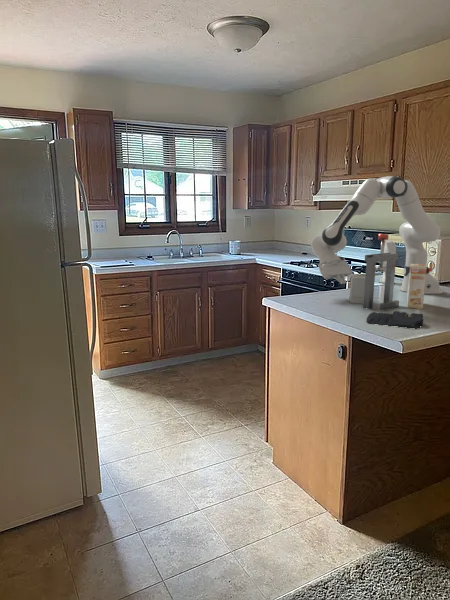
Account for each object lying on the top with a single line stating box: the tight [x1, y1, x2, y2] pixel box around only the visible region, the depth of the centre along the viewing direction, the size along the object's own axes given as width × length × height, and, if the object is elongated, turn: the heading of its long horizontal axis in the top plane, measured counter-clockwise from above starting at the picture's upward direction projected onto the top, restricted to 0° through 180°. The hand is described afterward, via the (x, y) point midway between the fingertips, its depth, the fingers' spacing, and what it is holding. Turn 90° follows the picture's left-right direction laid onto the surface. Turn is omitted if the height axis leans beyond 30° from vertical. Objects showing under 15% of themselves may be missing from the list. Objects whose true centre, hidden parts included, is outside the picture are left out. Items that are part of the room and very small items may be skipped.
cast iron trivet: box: [366, 310, 424, 330], centre depth 191 cm, size 15×22×5 cm
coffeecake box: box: [406, 264, 427, 310], centre depth 223 cm, size 15×7×20 cm, turn 160°
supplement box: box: [349, 275, 366, 304], centre depth 231 cm, size 7×7×13 cm
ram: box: [375, 233, 389, 273], centre depth 217 cm, size 5×5×17 cm
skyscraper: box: [378, 239, 397, 285], centre depth 286 cm, size 8×8×28 cm
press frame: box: [362, 252, 400, 311], centre depth 218 cm, size 10×19×25 cm, turn 127°
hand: (343, 283), depth 237 cm, fingers closed
